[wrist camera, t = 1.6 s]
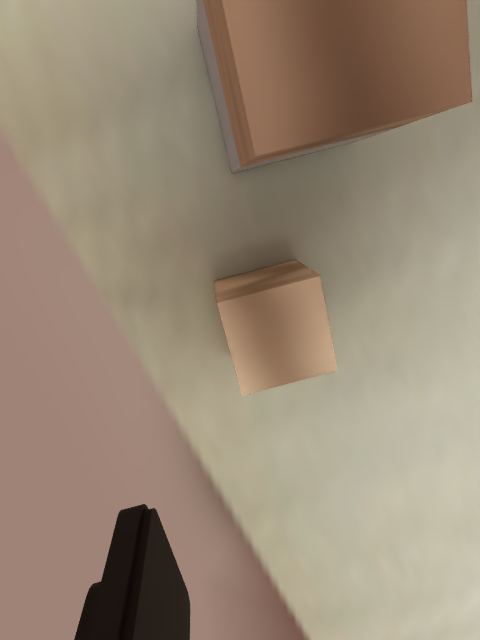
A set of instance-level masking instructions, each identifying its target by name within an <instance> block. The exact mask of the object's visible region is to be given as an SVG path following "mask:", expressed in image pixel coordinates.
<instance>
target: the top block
mask: <svg viewBox="0 0 480 640" xmlns="http://www.w3.org/2000/svg"><path fill="white" fill-rule="evenodd" d="M203 4H204V9H205V13H206V18H207V22H208V26H209V31H210V35H211V40H212V44H213V48H214V53H215V57H216V62H217V66H218V70H219V75H220V79H221V84H222V88H223V92H224V97H225V101H226V106H227V110H228V114H229V119H230V123H231V128H232V132H233V136H234V141H235V145H236V150H237V154H238V158H239V163H240V167H243V166H247V165H251V164H255V163H259V162H262V161H266V160H270V159H274V158H278V157H282V156H286V155H290V154H294V153H298V152H302V151H306V150H310V149H313V148H317V147H321V146H325V145H329V144H333V143H337V142H341V141H345V140H349V139H353V138H357V137H361V136H364V135H368V134H372V133H376V132H380V131H384V130H388V129H392V128H396V127H399V126H402V125H405V124H408V123H411V122H414V121H417V120H419V119H422V118H425V117H428V116H431V115H434V114H437V113H440V112H442V111H445V110H448V109H451V108H454V107H457V106H460V105H463V104H465V103H468V102H471V101H472V92H471V74H470V56H469V39H468V21H467V4H466V0H203Z"/></svg>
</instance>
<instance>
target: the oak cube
mask: <svg viewBox="0 0 480 640" xmlns="http://www.w3.org/2000/svg"><path fill="white" fill-rule="evenodd" d="M214 287H215V294H216V301H217V306H218V309H219V313H220V317H221V320H222V324H223V328H224V331H225V335H226V339H227V342H228V346H229V349H230V353H231V357H232V360H233V364H234V368H235V371H236V375H237V379H238V382H239V386H240V390H241V393H242V396H243V395H246V394H250V393H254V392H258V391H261V390H265V389H269V388H273V387H276V386H280V385H284V384H288V383H292V382H295V381H299V380H303V379H307V378H310V377H314V376H318V375H322V374H326V373H329V372H333V371H337V364H336V359H335V354H334V348H333V343H332V337H331V332H330V327H329V321H328V316H327V311H326V305H325V300H324V294H323V289H322V284H321V278H320V276H319V275H318V274H316V273H315V272H314V271H312V270H311V269H309V268H308V267H306V266H305V265H303V264H302V263H300V262H299V261H297V260H294V261H290V262H286V263H282V264H278V265H274V266H271V267H267V268H263V269H259V270H255V271H251V272H248V273H244V274H240V275H236V276H232V277H228V278H225V279H221V280H217V281H214Z"/></svg>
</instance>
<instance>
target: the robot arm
mask: <svg viewBox="0 0 480 640" xmlns="http://www.w3.org/2000/svg"><path fill="white" fill-rule="evenodd" d="M74 640H190V601H189V596H188V591H187V588H186V586H185V583H184V581H183V578H182V575H181V573H180V570H179V568H178V565H177V562H176V560H175V557H174V555H173V552H172V549H171V547H170V544H169V542H168V539H167V537H166V534H165V531H164V529H163V526H162V524H161V521H160V518H159V516H158V513H157V511H156V509H155V508H153V509H148V507H147V506H146V505H145V504H142V505H139V506H135V507H131V508H128V509H124V510H121V511H120V512H119V514H118V517H117V521H116V525H115V529H114V533H113V537H112V541H111V545H110V549H109V553H108V557H107V561H106V565H105V569H104V573H103V577H102V581H101V582H98V583H94V584H93V585H92V586H91V587H90V588H89V591H88V594H87V596H86V600H85V603H84V607H83V611H82V614H81V618H80V621H79V625H78V628H77V632H76V636H75V639H74Z"/></svg>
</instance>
